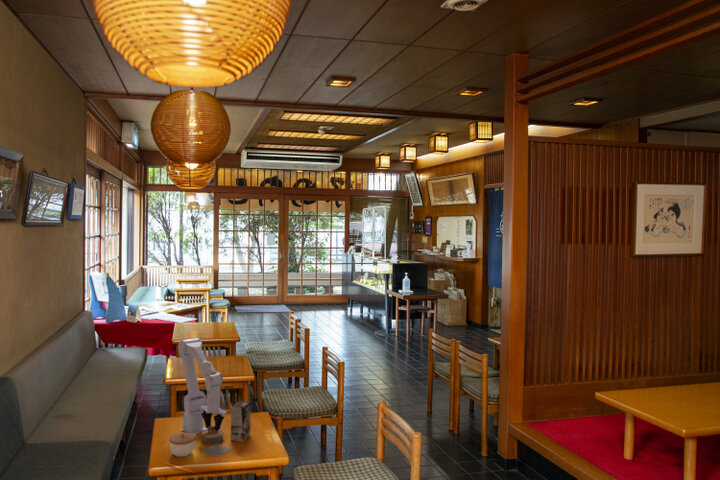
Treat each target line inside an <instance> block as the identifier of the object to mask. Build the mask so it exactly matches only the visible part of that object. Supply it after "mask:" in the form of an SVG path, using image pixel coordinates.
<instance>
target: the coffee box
mask: <svg viewBox="0 0 720 480" xmlns="http://www.w3.org/2000/svg"><path fill="white" fill-rule="evenodd" d="M230 417H231V419H230V441H235V442H236V441H237V442H244V441H245V440H246V439H247V438H248V437H250V436H251V431H252V430H251V427H252V426H251V425H252V424H251V423H252V402H251V401H245V400H244V401H243V400H242V401H241V400H239V401H237V402H236V403H234V404H233V405H232V406H231V415H230Z"/></svg>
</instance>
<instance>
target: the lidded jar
mask: <svg viewBox="0 0 720 480" xmlns="http://www.w3.org/2000/svg"><path fill="white" fill-rule="evenodd" d="M196 438H197V437H196V434H192V433H188V432H180V433H179V432H178V433H174V434H173V435H171V436H170V437H169V447H170V448H169V449H170V451H171V453H172V454H173V455H174V456H175V457H177V458H183V457H187V456H189V455H190V454H192V452H193V451H194V449H195V446H196Z"/></svg>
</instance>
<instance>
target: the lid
mask: <svg viewBox="0 0 720 480" xmlns="http://www.w3.org/2000/svg"><path fill="white" fill-rule="evenodd" d="M222 435H223V436H224V435H225V431H224V430H223V429H222V428H220V430H218V431H216V430H215V423H213V424H211V426H209V427H208V428H207V430H204V431H203V432H201V437H202V436H203V437H206V438H216V437H220V436H222Z"/></svg>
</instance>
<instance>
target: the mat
mask: <svg viewBox="0 0 720 480" xmlns="http://www.w3.org/2000/svg"><path fill="white" fill-rule="evenodd" d="M233 449H234V448H232V447H229V446H225V445H222V444H219V443H213V445H210V446H209V447H205V448H204V449H203V450H200V451H199V452H200V453H203V454H207V455H211V456H213V457H216V458H218V457H220V456H222V455H224V454H225V453H227V452H229V451H231V450H233Z"/></svg>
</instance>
